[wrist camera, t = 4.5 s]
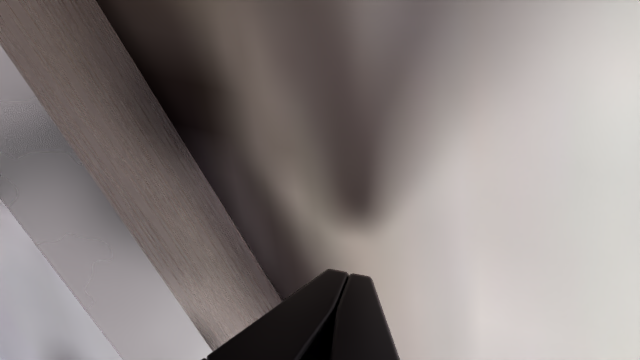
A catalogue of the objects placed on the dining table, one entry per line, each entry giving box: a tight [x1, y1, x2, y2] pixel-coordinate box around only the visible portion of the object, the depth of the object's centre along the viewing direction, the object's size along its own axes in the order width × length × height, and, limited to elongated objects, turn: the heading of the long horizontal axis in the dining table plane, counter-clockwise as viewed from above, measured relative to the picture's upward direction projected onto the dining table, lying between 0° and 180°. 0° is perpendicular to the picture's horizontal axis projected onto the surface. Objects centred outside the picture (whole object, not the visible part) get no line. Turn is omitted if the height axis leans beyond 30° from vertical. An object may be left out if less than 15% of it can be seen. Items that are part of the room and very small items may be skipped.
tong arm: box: [0, 0, 282, 360], centre depth 8 cm, size 3×20×3 cm, turn 29°
